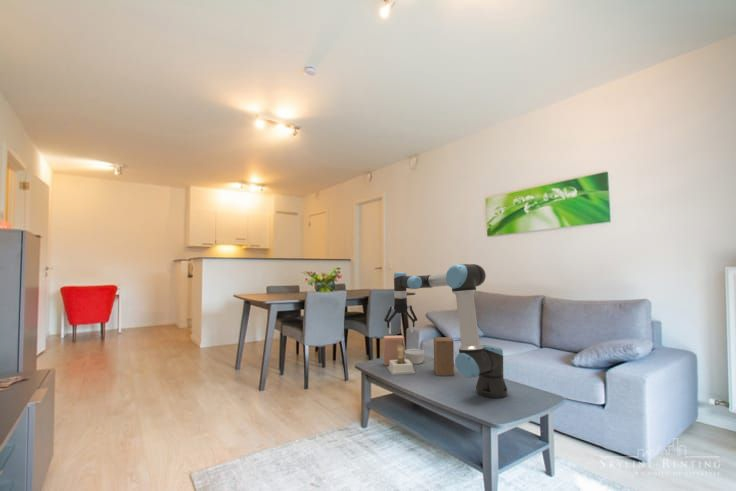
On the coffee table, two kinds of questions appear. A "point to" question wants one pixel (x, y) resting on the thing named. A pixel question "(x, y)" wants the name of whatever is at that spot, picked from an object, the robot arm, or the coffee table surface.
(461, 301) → the robot arm
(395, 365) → the socket
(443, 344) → the wooden block
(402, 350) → the peg
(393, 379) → the coffee table surface
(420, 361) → the ramekin
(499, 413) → the coffee table surface
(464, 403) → the coffee table surface
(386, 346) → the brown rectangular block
